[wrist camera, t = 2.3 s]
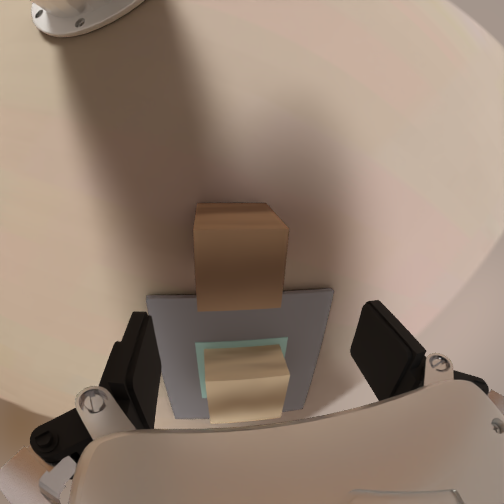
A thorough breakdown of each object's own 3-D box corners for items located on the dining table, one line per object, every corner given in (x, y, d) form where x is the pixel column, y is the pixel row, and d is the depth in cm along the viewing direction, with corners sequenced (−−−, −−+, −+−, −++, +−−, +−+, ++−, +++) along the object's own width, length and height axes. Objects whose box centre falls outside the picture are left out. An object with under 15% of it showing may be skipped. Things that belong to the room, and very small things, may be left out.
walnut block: (197, 203, 19) (193, 230, 14) (266, 203, 20) (289, 229, 14) (198, 266, 21) (197, 311, 16) (262, 264, 22) (280, 307, 16)
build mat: (146, 295, 21) (145, 299, 21) (331, 288, 24) (334, 291, 23) (175, 415, 28) (175, 419, 28) (301, 405, 31) (302, 409, 30)
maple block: (203, 348, 24) (205, 381, 20) (279, 344, 25) (290, 374, 21) (208, 393, 26) (210, 423, 23) (272, 389, 27) (280, 417, 24)
